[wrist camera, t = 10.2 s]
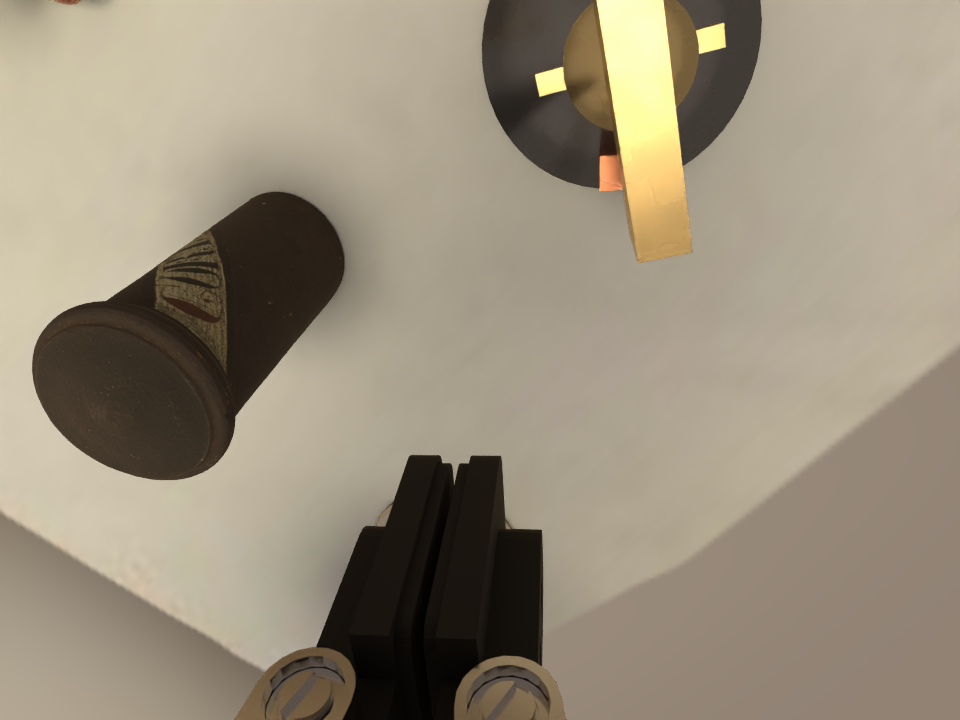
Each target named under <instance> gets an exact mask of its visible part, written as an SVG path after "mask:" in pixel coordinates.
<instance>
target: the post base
mask: <svg viewBox="0 0 960 720" xmlns="http://www.w3.org/2000/svg"><path fill="white" fill-rule="evenodd" d="M677 1H678V2H679V3H680V4H681V5H682V6H683V7H684V8H685V9H686V11H687V12H688V14H689V16H690V17H691V19H692V21H693V24H694V26H695V29H696V28H700V27H704V26H707V25H711V24H714V23H718V22H721V23H724V30H725V43H726V47H724V48H720V49H716V50H712V51H709V52H705V53H701V54H699V60H698V67H697V71H696V75H695V78H694V81H693V83H692V85H691V88H690V90H689V92H688V93H687V95H686V96H685V98H684V100H683V101H682V102H681V103H680V105H679V106H678V107H677V108H676V115H677V123H678V132H679V141H680V149H681V158H682V166H684V165H685V164H687V163H688V162H689V161H691V160H692V159H694V158H695V157H696V156H698V155H699V154H700V153H701V152H702V151H703V150H704V149H706V148H707V147H708V146H709V145H710V144H711V143H712V142H713V141H714V140H715V138H716V137H717V136H718V135H719V134H720V133H721V132H722V131H723V129H724V128H725V127H726V125H727V124H728V122H729V121H730V120H731V118H732V117H733V116H734V114H735V112H736V110H737V109H738V107H739V105H740V103H741V101H742V100H743V98H744V96H745V93H746V91H747V89H748V86H749V84H750V81H751V79H752V76H753V72H754V69H755V65H756V62H757V58H758V52H759V46H760V40H761V21H762V18H761V5H760V0H677ZM591 3H592V0H490V2H489V5H488V9H487V14H486V18H485V23H484V31H483V41H482V64H483V71H484V78H485V84H486V88H487V92H488V95H489V99H490V102H491V104H492V107H493V109H494V112H495V114H496V117H497V119H498V120H499V122H500V124H501V126H502V128H503V129H504V131H505V133H506V134H507V135H508V137H509V138H510V139H511V141H512V142H513V144H514V145H515V146H516V147H517V148H518V149H519V150H520V151H521V152H522V153H523V154H524V155H525V156H526V157H527V158H528V159H529V160H530V161H532V162H533V163H534V164H536V165H537V166H538V167H539V168H541V169H543V170H544V171H546V172H548V173H549V174H551V175H553V176H555V177H557V178H560V179H562V180H564V181H567V182H570V183H574V184H577V185H581V186H586V187H593V188H599V190H600V191H611V190H623V189H622V182H621V176H620V170H619V164H618V158H617V151H616V145H615V139H614V133H613V131H611V130H606V129H604V128H601V127H599V126H597V125H595V124H593V123H591V122H590V121H589V120H587V119H586V118H585V117H584V116H583V115H582V114H581V113H580V112H579V111H578V110H577V108H576V107H575V106H574V104H573V102H572V100H571V99H570V97H569V94H568V91H567V89H566V90H562V91H559V92H555V93H551V94H547V95H544V96H539V91H538V86H537V81H536V76H535V74H536V72H540V71H544V70H547V69H551V68H555V67H558V66H562V65H563V55H564V48H565V44H566V40H567V37H568V35H569V32H570V30H571V28H572V26H573V24H574V23H575V21H576V19H577V18H578V16H579V15H580V14H581V13H582V12H583V10H584V9H585V8H586V7H587V6H588V5H590V4H591Z"/></svg>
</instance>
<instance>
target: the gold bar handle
mask: <svg viewBox="0 0 960 720" xmlns="http://www.w3.org/2000/svg"><path fill="white" fill-rule="evenodd" d="M724 47H726V43H725V30H724V23H721V22H718V23H714V24H711V25H707V26H704V27H700V28H696V29H695V26H694V24H693V21H692V19H691V17H690V16H689V14H688V12H687V11H686V9H685V8H684V7H683V6H682V5H681V4H680V3H679V2H678V1H677V0H592V3H591V4H590V5H588V6H587V7H586V8H585V9H584V10H583V12H582V13H581V14H580V15H579V16H578V18H577V19H576V21H575V23H574V24H573V26H572V28H571V30H570V32H569V35H568V37H567V40H566V44H565V48H564V55H563V65H562V66H558V67H555V68H551V69H547V70H544V71H540V72H536V74H535V76H536V81H537V86H538V91H539V96H544V95H547V94H551V93H555V92H559V91H562V90H566V89H567V91H568V94H569V97H570V99H571V100H572V102H573V104H574V106H575V107H576V108H577V110H578V111H579V112H580V113H581V114H582V115H583V116H584V117H585V118H586V119H587V120H589V121H590V122H591V123H593V124H595V125H597V126H599V127H601V128H604V129H606V130H611V131H613V133H614V139H615V145H616V151H617V158H618V164H619V170H620V176H621V182H622V189H623V195H624V201H625V207H626V214H627V220H628V226H629V232H630V237H631V241H632V244H633V247H634V251H635V254H636V257H637V261H638V263H642V262H647V261H652V260H656V259H661V258H666V257H671V256H676V255H681V254H686V253H691V252H692V244H691V235H690V227H689V218H688V210H687V201H686V192H685V184H684V175H683V166H682V158H681V149H680V141H679V132H678V123H677V115H676V108H677V107H678V106H679V105H680V103H681V102H682V101H683V100H684V98H685V96H686V95H687V93H688V92H689V90H690V88H691V85H692V83H693V81H694V78H695V75H696V71H697V67H698V60H699V54H701V53H705V52H709V51H712V50H716V49H720V48H724Z"/></svg>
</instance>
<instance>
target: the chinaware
mask: <svg viewBox="0 0 960 720" xmlns="http://www.w3.org/2000/svg"><path fill="white" fill-rule="evenodd" d="M50 1H54V2H58V3H62V4H68V5H73V4H77V3H79V2H80V1H82V0H50Z"/></svg>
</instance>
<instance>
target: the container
mask: <svg viewBox="0 0 960 720" xmlns="http://www.w3.org/2000/svg"><path fill="white" fill-rule="evenodd" d="M343 271H344V258H343V252H342V248H341V245H340V242H339V239H338V237H337V234H336V233H335V231H334V229H333V227H332V226H331V224H330V223H329V222H328V220H327V219H326V218H325V217H324V216H323V215H322V214H321V213H320V212H319V211H318V210H317V209H316V208H314V207H313V206H312V205H310V204H309V203H307V202H306V201H304V200H302V199H300V198H298V197H296V196H293V195H290V194H286V193H280V192H271V193H265V194H261V195H258V196H256V197H254V198H251V199H250V201H248V202H247V203H245V204H244V205H242V206H241V207H239V208H238V209H237V210H235V211H234V212H232V213H231V214H229V215H228V216H227V217H225V218H224V219H223V220H221V221H219V222H218V223H217V224H215V225H214V226H213V227H211V228H210V229H208V230H207V231H205V232H204V233H203V234H201V235H200V236H198V237H197V238H195V239H194V240H193V241H192V242H190V243H189V244H187V245H186V246H184V247H183V248H181V249H180V250H178V251H177V252H176V253H174V254H173V255H171V256H170V257H168V258H167V259H166V260H164V261H163V262H161V263H160V264H158V265H157V266H156V267H155V268H153V269H152V270H151V271H149V272H148V273H146V274H145V275H144V276H142V277H141V278H139V279H138V280H136V281H135V282H133V283H132V284H130V285H129V286H127V287H126V288H124V289H123V290H121V291H120V292H118V293H117V294H115V295H114V296H113V297H111V298H110V299H108V300H107V301H101V302H92V303H86V304H82V305H79V306H76V307H73V308H71V309H68V310H67V311H65V312H63V313H61V314H60V315H58V316H57V317H56V318H55V319H53V320H52V321H51V322H50V323H49V324H48V325H47V327H46V328H45V329H44V330H43V332H42V333H41V335H40V336H39V339H38V340H37V343H36V346H35V349H34V354H33V361H32V373H33V381H34V385H35V389H36V393H37V395H38V398H39V400H40V402H41V405H42V407H43V408H44V410H45V412H46V414H47V415H48V417H49V419H50V420H51V422H52V423H53V424H54V426H55V427H56V428H57V429H58V430H59V431H60V432H61V434H62V435H63V436H64V437H65V438H66V439H67V440H68V441H70V442H71V443H72V444H73V445H74V446H75V447H77V448H78V449H79V450H81V451H82V452H84V453H85V454H86V455H88V456H90V457H91V458H93V459H95V460H96V461H98V462H100V463H102V464H104V465H106V466H108V467H110V468H113V469H116V470H118V471H121V472H124V473H127V474H130V475H134V476H137V477H142V478H147V479H153V480H178V479H185V478H189V477H192V476H195V475H198V474H200V473H202V472H204V471H206V470H208V469H209V468H211V467H212V466H214V465H215V464H216V463H217V462H218V461H219V460H220V459H221V457H222V456H223V455H224V453H225V452H226V450H227V449H228V447H229V445H230V442H231V440H232V437H233V433H234V428H235V416H236V415H237V414H238V412H239V411H240V410H241V408H242V407H243V406H244V404H245V403H246V402H247V401H248V400H249V398H250V397H251V396H252V395H253V393H254V392H255V391H256V389H257V388H258V387H259V386H260V385H261V383H262V382H263V381H264V380H265V379H266V378H267V376H268V375H269V374H270V373H271V371H272V370H273V369H274V368H275V367H276V365H277V364H278V363H279V361H280V360H281V359H282V358H283V356H284V355H285V354H286V353H287V351H288V350H289V349H290V348H291V346H292V345H293V344H294V343H295V342H296V341H297V339H298V338H299V337H300V336H301V335H302V333H303V332H304V331H305V330H306V328H307V327H308V326H309V325H310V324H311V322H312V321H313V320H314V319H315V318H316V317H317V315H318V314H319V313H320V312H321V311H322V309H323V308H324V307H325V306H326V305H327V303H328V302H329V301H330V299H331V298H332V297H333V295H334V294H335V292H336V291H337V289H338V287H339V285H340V283H341V280H342V276H343Z"/></svg>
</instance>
